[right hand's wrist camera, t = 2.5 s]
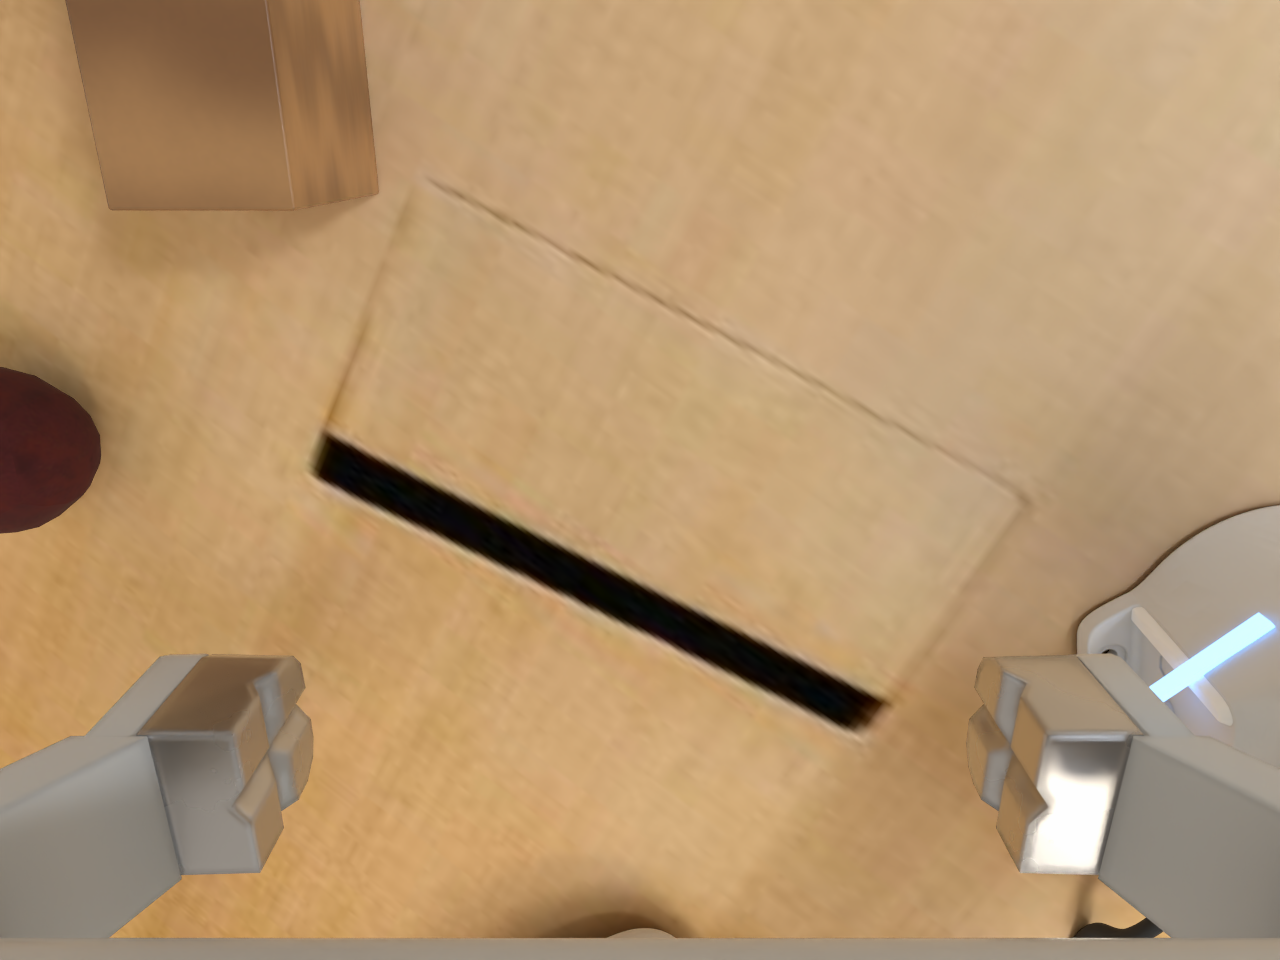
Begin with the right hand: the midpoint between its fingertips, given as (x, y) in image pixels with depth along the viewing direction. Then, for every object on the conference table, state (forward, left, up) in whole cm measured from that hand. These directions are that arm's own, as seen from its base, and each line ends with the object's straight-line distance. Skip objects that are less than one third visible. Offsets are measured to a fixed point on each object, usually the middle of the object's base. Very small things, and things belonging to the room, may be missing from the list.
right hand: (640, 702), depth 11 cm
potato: (-6, +28, -31) cm, 42 cm away
